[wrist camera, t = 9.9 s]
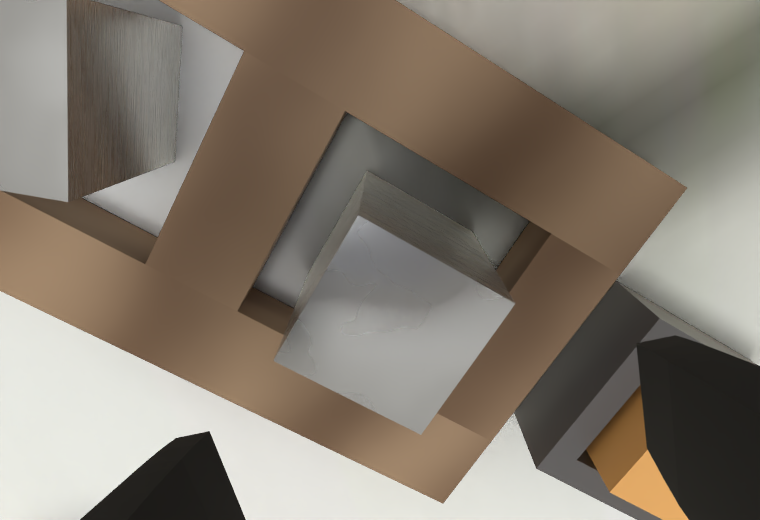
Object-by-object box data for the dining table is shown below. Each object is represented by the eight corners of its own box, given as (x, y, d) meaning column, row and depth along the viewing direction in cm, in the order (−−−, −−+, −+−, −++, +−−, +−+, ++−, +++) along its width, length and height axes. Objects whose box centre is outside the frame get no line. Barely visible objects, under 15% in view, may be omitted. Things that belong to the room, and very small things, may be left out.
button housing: (750, 360, 19) (816, 410, 16) (642, 479, 20) (684, 543, 18) (615, 280, 18) (659, 318, 15) (514, 412, 20) (536, 468, 17)
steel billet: (182, 26, 16) (66, -7, 10) (174, 161, 17) (68, 202, 11) (44, -1, 15) (-157, -50, 10) (46, 139, 17) (-130, 167, 11)
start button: (727, 394, 18) (794, 455, 15) (657, 471, 19) (706, 542, 16) (641, 345, 17) (694, 398, 14) (573, 427, 18) (609, 492, 15)
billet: (472, 231, 17) (515, 303, 12) (409, 326, 19) (420, 434, 13) (366, 170, 17) (358, 214, 11) (308, 272, 18) (273, 360, 12)
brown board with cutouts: (652, 175, 17) (687, 187, 15) (437, 464, 20) (443, 503, 18) (-18, -253, 13) (-83, -308, 12) (-135, 182, 17) (-200, 195, 15)
